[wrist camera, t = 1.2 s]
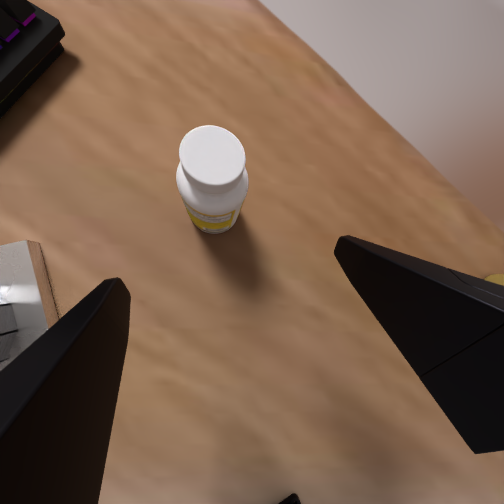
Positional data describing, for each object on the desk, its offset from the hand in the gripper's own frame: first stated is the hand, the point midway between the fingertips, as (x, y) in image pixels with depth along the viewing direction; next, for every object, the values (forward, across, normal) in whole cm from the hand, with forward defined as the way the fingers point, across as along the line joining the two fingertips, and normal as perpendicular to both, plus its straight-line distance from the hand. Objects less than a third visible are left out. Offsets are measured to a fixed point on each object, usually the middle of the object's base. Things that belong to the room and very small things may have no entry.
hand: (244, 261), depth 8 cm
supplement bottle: (+14, 0, +4) cm, 15 cm away
